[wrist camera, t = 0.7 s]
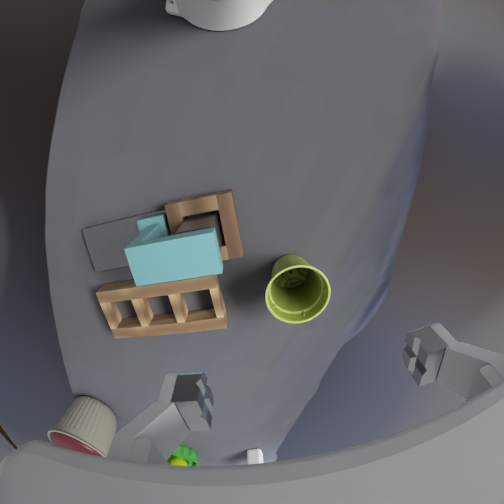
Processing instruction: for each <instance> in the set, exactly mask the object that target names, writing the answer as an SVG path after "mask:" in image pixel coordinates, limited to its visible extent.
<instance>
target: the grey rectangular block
mask: <svg viewBox="0 0 504 504" xmlns="http://www.w3.org/2000/svg"><path fill="white" fill-rule="evenodd" d="M214 227H215V231H216V235H217V240H218V245H219V249H220V251H221V247H222V242H223V232H222V228H221V223H220V218H219V213H218V210H215V211H209V212H204V213H199V214H194V215H189V216H188V217H187V218H186V220H185V221H184V222H183V223H182V225H181V226H180V227H179V229H178V230H177V231H176V232H175V235H176V234H181V233H186V232H192V231H197V230H203V229H208V228H214Z"/></svg>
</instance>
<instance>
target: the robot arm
mask: <svg viewBox="0 0 504 504" xmlns="http://www.w3.org/2000/svg"><path fill="white" fill-rule="evenodd" d="M272 1H274V0H167V1H166V11H167V13H169V14H171V15H176V16H181V17H183V18H185V19H186V20H187V21H189V22H190V23H191V24H193V25H195V26H197V27H200V28H203V29H207V30H213V31H225V30H232V29H237V28H240V27H243V26H246V25H248V24H250V23H252V22H253V21H255V20H256V19H258V18H259V17H260V16H261V15H262V14H263V13H264V11H265V10H266V8H267V6H268V5H269V4H270V3H271V2H272ZM172 2H173V3H172ZM405 341H406V342H407V346H406V347H405V348H404V352H403V359H404V363H405V365H406V367H407V369H408V370H410V371H412V372H413V378H414V380H415V382H416V383H417V384H418V386H419V387H420V386H423V385H426V384H428V383H431V382H433V381H436V382H437V383H439V384H441V385H442V386H444V387H446V388H448V389H450V390H451V391H453V392H455V393H457V394H459V395H460V396H462V397H464V398H466V399H467V400H466V402H465V403H463V404H461V405H459V406H457V407H455V408H453V409H451V410H449V411H447V412H445V413H443V414H441V415H438V416H436V417H434V418H432V419H430V420H427V421H425V422H423V423H420V424H418V425H415V426H413V427H410V428H408V429H405V430H403V431H400V432H397V433H394V434H392V435H389V436H386V437H383V438H380V439H377V440H374V441H371V442H367V443H364V444H360V445H357V446H353V447H349V448H345V449H341V450H337V451H333V452H329V453H324V454H320V455H314V456H309V457H304V458H298V459H291V460H285V461H277V462H269V463H260V464H249V465H233V466H175V465H170V464H169V463H168V462H167V460H168V458H169V457H170V456H171V455H172V454H173V452H174V451H175V450H176V449H177V448H178V446H179V445H180V444H181V443H182V441H183V440H184V439H185V438H186V437H187V435H188V434H189V433H190V431H199V430H211V423H212V415H211V413H210V411H211V410H212V409H213V394H212V390H211V388H210V386H208V385H207V377H206V375H205V373H204V372H195V373H179V374H167V375H166V376H165V379H164V382H163V385H162V388H161V391H160V395H159V398H158V401H157V403H153V404H152V405H150V406H149V407H148V408H147V409H146V410H144V411H143V412H142V413H141V414H140V415H138V416H137V417H136V418H135V419H133V420H132V421H131V422H130V423H129V424H127V425H126V426H125V427H124V428H122V429H121V430H120V431H119V432H117V433H116V434H115V435H114V438H113V441H112V443H111V446H110V449H109V452H108V454H107V457H101V456H96V455H91V454H87V453H82V452H78V451H74V450H70V449H66V448H63V447H59V446H56V445H53V444H49V443H46V442H44V441H40V440H33V441H31V442H29V443H27V444H25V445H23V446H21V447H19V448H18V449H16V450H14V451H13V452H11V453H9V454H8V455H7V456H6V457H5V458H4V460H3V461H2V463H1V464H0V504H504V356H503V355H501V354H498V353H495V352H491V351H488V350H485V349H482V348H479V347H476V346H473V345H469V344H466V343H463V342H457V341H456V340H455V339H454V338H453V337H452V336H451V335H450V334H449V333H448V331H447V330H446V329H445V328H444V327H443V326H442V325H441V324H440V323H434V324H432V325H429V326H427V327H424V328H421V329H418V330H415V331H411V332H409V333H407V335H406V340H405Z"/></svg>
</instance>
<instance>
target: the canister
mask: <svg viewBox="0 0 504 504" xmlns="http://www.w3.org/2000/svg"><path fill="white" fill-rule="evenodd" d="M116 424H117V423H116V417H115V415H114V413H113V412H112V410H111V409H110V408H109V407H108V406H106V405H105V404H104V403H103V402H101V401H99V400H97V399H95V398H92V397H88V396H80V397H78V398H76V399H75V400H74V401H73V402H72V403H71V404H70V406H69V407H68V408H67V409H66V411H65V412H64V414H63V415H62V416H61V418H60V419H59V421H58V422H57V423H56V425H55V426H54V428H53V429H52V430H50V431H48V438H49V439H50V441H51V442H52V444H53V445H56V446H59V447H63V448H66V449H70V450H74V451H78V452H82V453H87V454H91V455H96V456H101V457H107V454H108V452H109V449H110V446H111V443H112V441H113V438H114V435H115V431H116Z"/></svg>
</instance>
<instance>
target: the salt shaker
mask: <svg viewBox="0 0 504 504" xmlns="http://www.w3.org/2000/svg"><path fill="white" fill-rule="evenodd" d="M260 463H263V453H262V452H261V450H260V449H259V448H257V449H250V450H247V465H249V464H260Z"/></svg>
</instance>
